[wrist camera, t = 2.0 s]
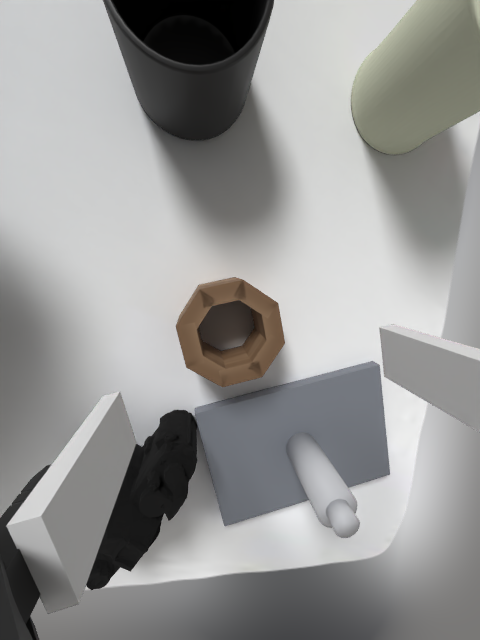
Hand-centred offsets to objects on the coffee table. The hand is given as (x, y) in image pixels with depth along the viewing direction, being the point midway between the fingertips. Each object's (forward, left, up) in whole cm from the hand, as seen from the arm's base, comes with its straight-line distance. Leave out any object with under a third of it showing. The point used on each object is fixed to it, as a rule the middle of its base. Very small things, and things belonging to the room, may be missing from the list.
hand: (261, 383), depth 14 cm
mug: (+2, +22, -15) cm, 27 cm away
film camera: (-13, -11, -15) cm, 22 cm away
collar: (0, 0, -14) cm, 14 cm away
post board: (+5, -15, -14) cm, 21 cm away
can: (+20, +17, -15) cm, 30 cm away
